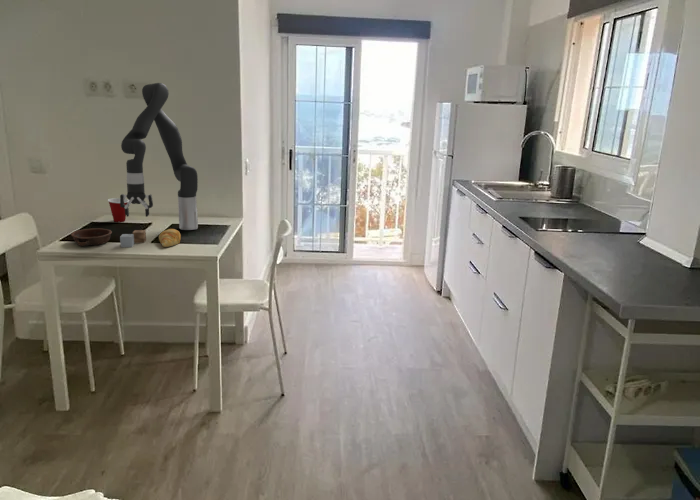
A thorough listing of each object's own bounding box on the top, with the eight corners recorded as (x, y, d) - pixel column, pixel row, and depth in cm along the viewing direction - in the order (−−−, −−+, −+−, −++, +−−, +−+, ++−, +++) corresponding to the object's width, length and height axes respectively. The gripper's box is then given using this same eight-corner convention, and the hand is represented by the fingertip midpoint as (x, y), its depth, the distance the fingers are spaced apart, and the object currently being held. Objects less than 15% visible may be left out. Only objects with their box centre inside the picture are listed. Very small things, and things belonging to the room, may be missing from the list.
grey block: (134, 244, 261) (133, 234, 260) (132, 247, 256) (131, 236, 255) (123, 244, 260) (122, 234, 259) (120, 247, 255) (119, 236, 254)
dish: (61, 247, 252) (60, 237, 250) (86, 236, 273) (85, 226, 272) (98, 249, 251) (97, 239, 250) (121, 237, 272) (120, 228, 271)
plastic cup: (123, 223, 299) (121, 201, 296) (105, 222, 301) (103, 200, 298) (134, 219, 309) (133, 198, 306) (117, 218, 311) (115, 197, 308)
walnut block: (146, 240, 269) (145, 230, 268) (144, 242, 265) (143, 232, 263) (135, 240, 268) (134, 230, 267) (133, 242, 264) (132, 232, 262)
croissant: (171, 256, 257) (178, 241, 256) (151, 245, 255) (158, 231, 253) (181, 243, 277) (188, 229, 276) (162, 233, 275) (169, 220, 274)
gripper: (152, 181, 264) (154, 214, 268) (121, 180, 261) (123, 214, 266) (150, 183, 257) (151, 218, 261) (117, 183, 254) (119, 217, 259)
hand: (137, 216), depth 263 cm, fingers open, 8 cm apart
